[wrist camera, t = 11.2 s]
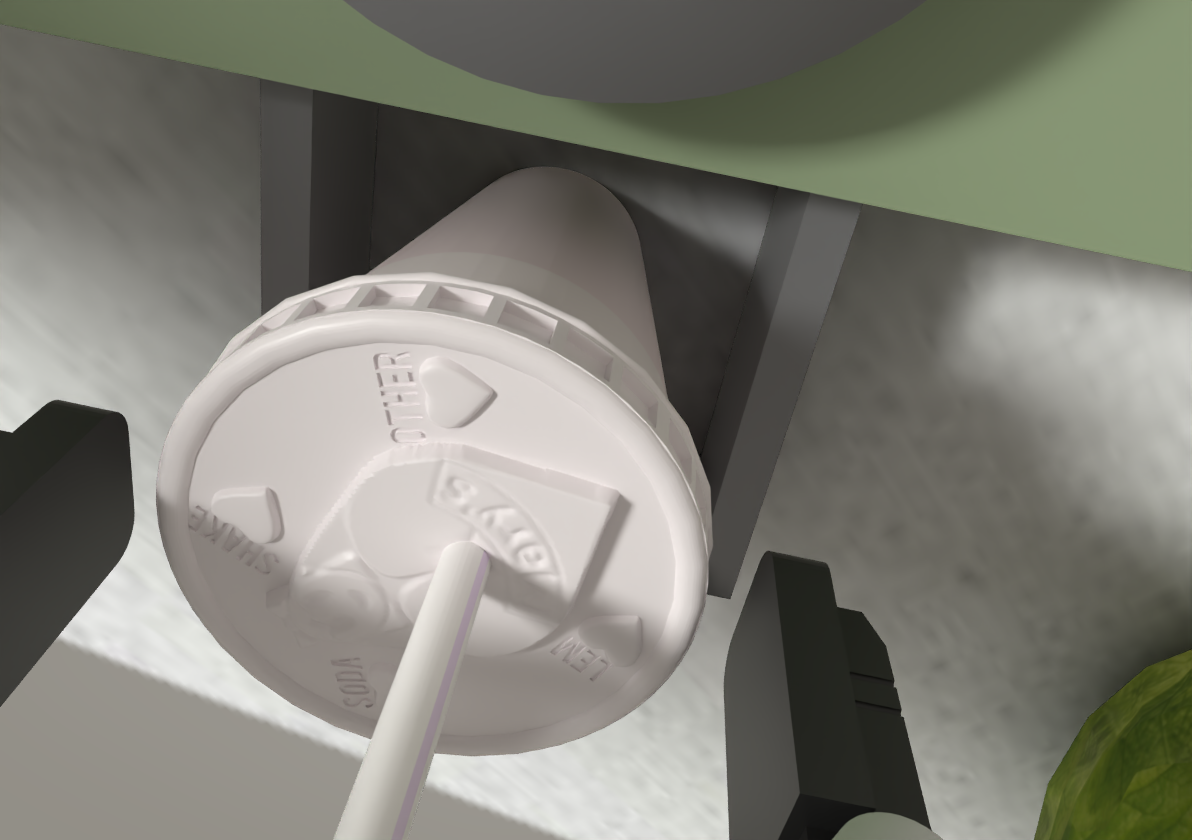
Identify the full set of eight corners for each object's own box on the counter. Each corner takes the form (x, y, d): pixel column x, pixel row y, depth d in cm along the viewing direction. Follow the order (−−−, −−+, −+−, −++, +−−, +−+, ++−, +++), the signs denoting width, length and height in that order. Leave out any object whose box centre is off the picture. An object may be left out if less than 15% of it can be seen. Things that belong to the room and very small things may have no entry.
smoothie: (762, 329, 19) (855, 1106, 7) (494, 440, 21) (220, 1193, 9) (617, 26, 17) (388, 463, 5) (328, 186, 19) (-356, 779, 7)
